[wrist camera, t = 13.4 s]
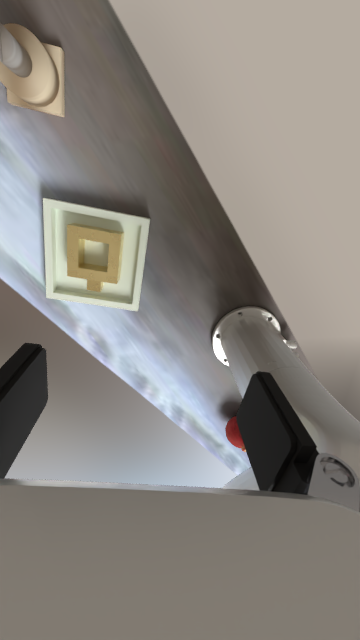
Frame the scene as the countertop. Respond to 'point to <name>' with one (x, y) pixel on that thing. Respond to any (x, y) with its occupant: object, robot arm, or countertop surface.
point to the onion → (234, 434)
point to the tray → (94, 254)
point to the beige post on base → (31, 71)
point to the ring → (90, 271)
